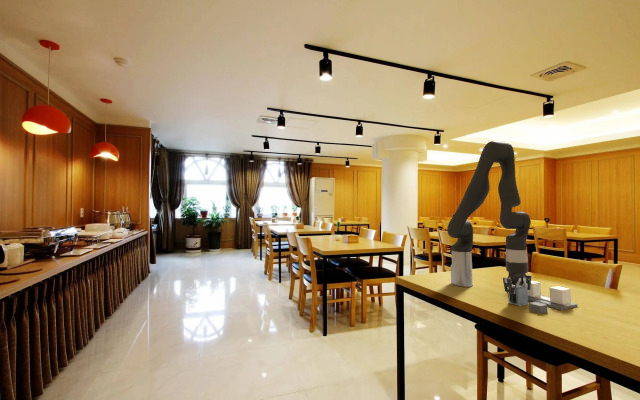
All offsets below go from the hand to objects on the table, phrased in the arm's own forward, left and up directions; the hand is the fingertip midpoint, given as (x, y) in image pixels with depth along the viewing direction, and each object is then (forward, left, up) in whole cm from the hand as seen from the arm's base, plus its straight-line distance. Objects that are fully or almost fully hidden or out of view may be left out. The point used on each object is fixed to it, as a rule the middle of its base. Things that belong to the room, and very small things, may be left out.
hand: (518, 301), depth 118 cm
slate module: (0, 0, -1) cm, 1 cm away
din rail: (+3, +12, -1) cm, 12 cm away
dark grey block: (+9, -2, -1) cm, 9 cm away
